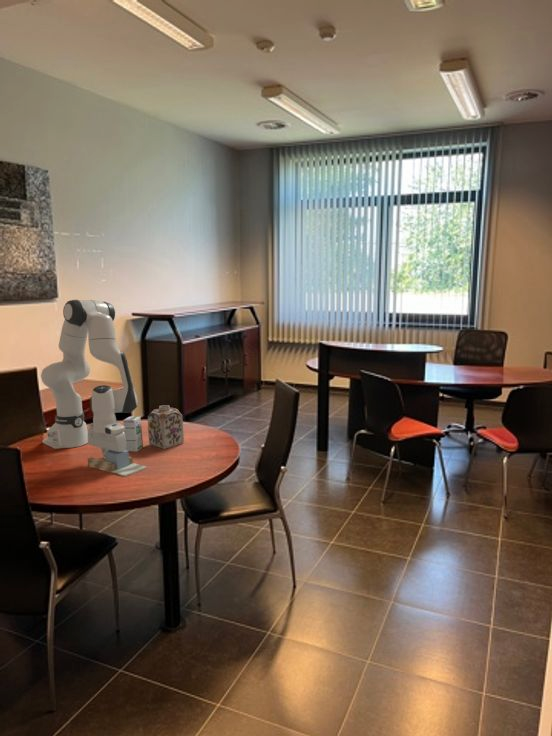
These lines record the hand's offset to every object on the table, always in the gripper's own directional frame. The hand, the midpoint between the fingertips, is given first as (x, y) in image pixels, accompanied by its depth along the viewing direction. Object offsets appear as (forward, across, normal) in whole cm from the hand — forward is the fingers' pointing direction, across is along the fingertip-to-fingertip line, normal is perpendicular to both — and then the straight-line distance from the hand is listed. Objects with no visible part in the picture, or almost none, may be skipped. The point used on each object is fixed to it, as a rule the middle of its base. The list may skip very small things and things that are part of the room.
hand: (107, 458), depth 219 cm
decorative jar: (+3, +1, +32) cm, 32 cm away
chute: (+3, +5, 0) cm, 6 cm away
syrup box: (+3, -6, +19) cm, 20 cm away
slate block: (+3, +6, 0) cm, 7 cm away
